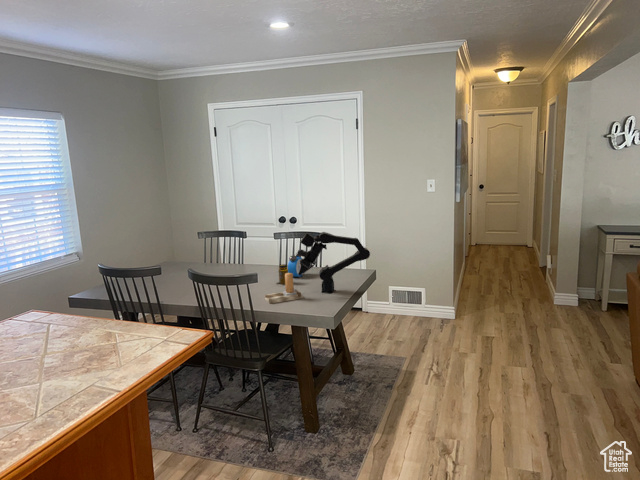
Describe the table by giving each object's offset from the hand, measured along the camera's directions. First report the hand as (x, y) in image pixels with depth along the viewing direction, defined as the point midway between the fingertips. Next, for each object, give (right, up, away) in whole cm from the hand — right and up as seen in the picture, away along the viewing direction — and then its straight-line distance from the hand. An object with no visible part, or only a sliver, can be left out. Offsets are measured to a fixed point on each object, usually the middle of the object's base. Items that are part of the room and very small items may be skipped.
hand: (300, 274), depth 270 cm
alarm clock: (-5, -5, +41) cm, 42 cm away
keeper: (-6, -12, -6) cm, 14 cm away
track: (-9, -14, -7) cm, 18 cm away
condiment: (-12, -8, +25) cm, 29 cm away
